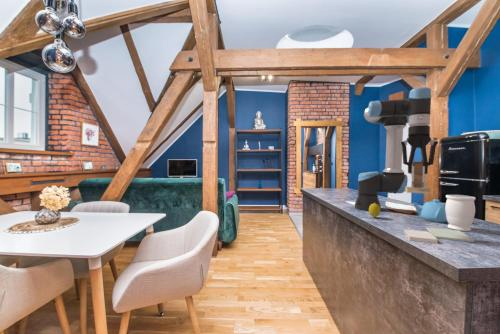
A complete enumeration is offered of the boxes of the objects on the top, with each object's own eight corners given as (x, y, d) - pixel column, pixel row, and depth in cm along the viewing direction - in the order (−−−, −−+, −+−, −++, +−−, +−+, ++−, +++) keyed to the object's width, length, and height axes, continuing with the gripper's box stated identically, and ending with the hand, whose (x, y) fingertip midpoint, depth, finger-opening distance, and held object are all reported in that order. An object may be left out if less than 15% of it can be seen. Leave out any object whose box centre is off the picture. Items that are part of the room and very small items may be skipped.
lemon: (370, 218, 132) (371, 203, 131) (367, 216, 137) (367, 201, 137) (381, 219, 131) (382, 203, 131) (377, 216, 136) (378, 202, 136)
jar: (480, 233, 108) (481, 198, 107) (452, 231, 110) (454, 197, 109) (464, 226, 118) (465, 194, 117) (439, 225, 120) (440, 194, 120)
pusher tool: (404, 191, 110) (405, 161, 109) (426, 192, 107) (427, 161, 106) (407, 192, 105) (408, 161, 105) (429, 193, 102) (430, 161, 102)
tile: (404, 229, 107) (409, 236, 97) (429, 231, 104) (437, 239, 93) (403, 233, 107) (409, 241, 97) (429, 236, 104) (437, 244, 94)
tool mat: (426, 229, 113) (426, 227, 113) (459, 232, 108) (459, 230, 108) (436, 238, 100) (436, 236, 100) (474, 242, 95) (474, 240, 95)
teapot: (440, 225, 121) (441, 202, 120) (411, 217, 135) (411, 198, 134) (461, 222, 126) (462, 201, 125) (430, 215, 140) (431, 196, 140)
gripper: (398, 125, 105) (396, 181, 105) (445, 123, 98) (443, 183, 99) (395, 127, 112) (394, 180, 112) (439, 126, 105) (437, 181, 106)
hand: (417, 181), depth 106 cm, fingers closed on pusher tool, 3 cm apart
